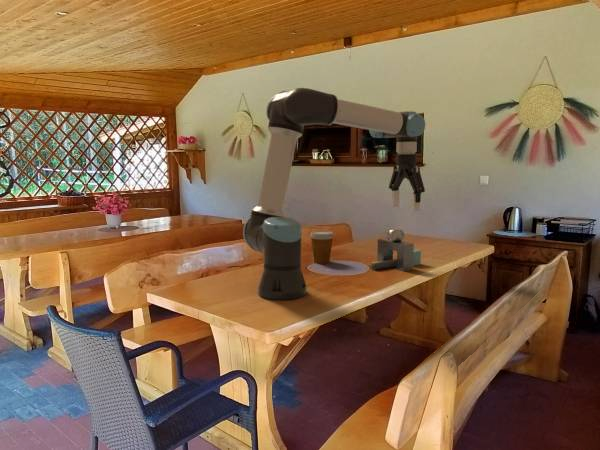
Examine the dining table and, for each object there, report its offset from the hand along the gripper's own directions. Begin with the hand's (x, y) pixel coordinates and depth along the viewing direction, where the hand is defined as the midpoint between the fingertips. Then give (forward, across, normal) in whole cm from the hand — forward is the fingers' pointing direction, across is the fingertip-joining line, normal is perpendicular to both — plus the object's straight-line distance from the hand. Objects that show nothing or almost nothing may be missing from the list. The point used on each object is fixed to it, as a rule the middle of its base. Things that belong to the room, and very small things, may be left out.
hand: (405, 209), depth 189 cm
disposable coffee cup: (+22, +18, +28) cm, 39 cm away
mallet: (+22, -1, +5) cm, 23 cm away
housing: (+22, -1, +5) cm, 23 cm away
